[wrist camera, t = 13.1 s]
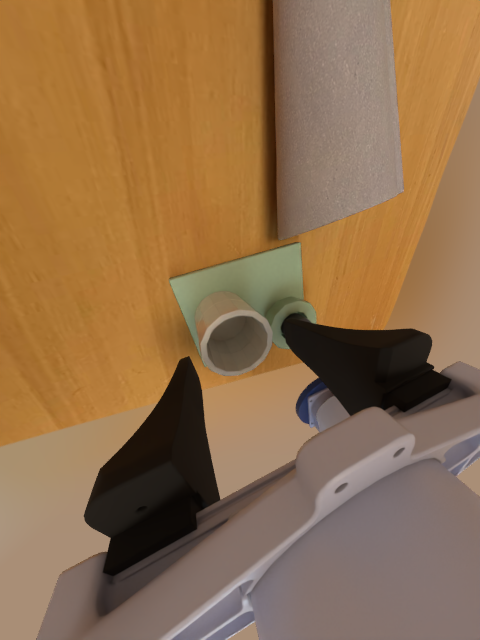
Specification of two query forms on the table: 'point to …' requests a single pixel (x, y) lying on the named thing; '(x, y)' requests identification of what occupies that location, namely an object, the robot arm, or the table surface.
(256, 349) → the cup
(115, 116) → the table surface
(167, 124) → the table surface
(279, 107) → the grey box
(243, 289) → the scale
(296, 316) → the button
